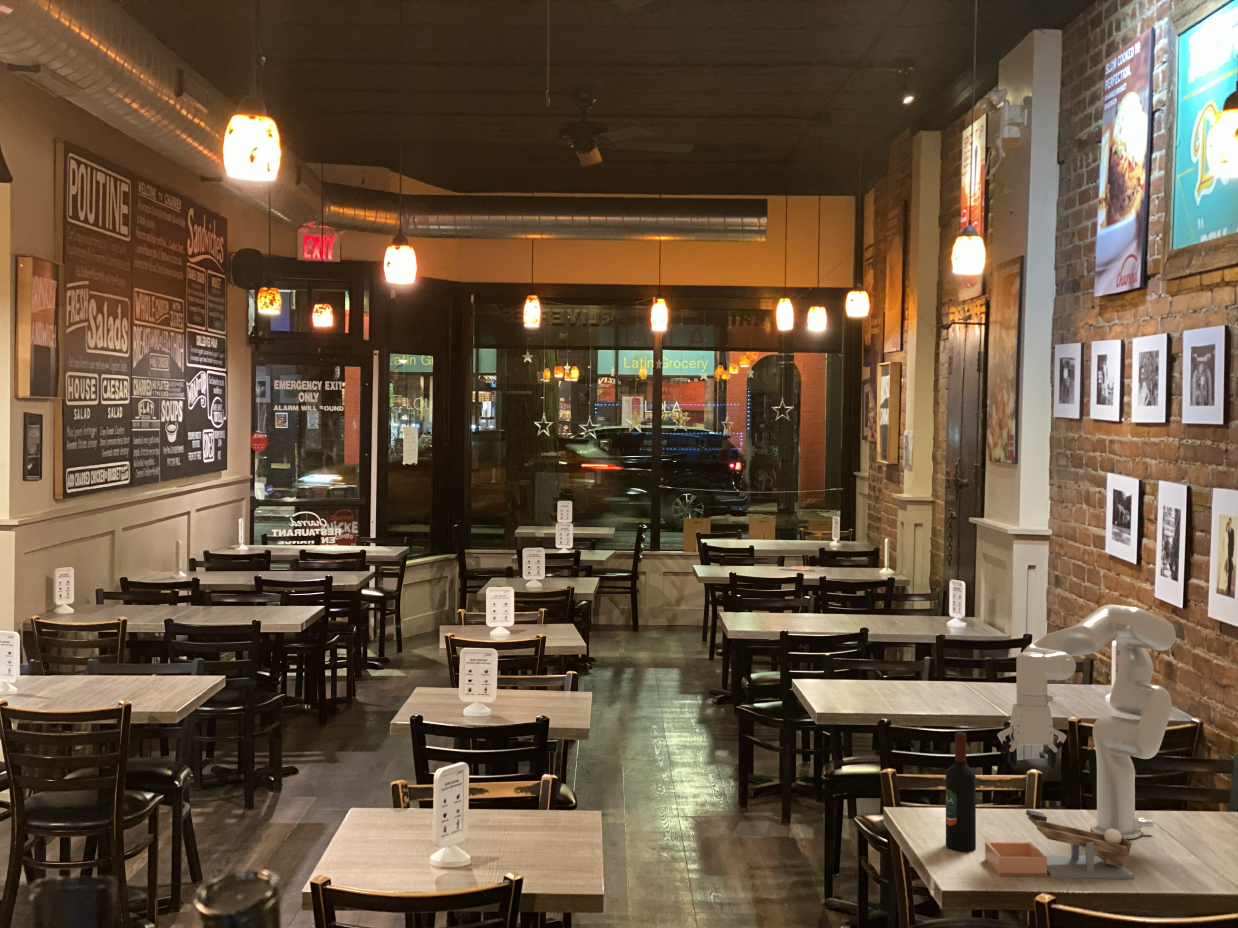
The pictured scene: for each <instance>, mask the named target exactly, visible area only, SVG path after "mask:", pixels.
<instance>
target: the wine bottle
mask: <svg viewBox="0 0 1238 928" xmlns="http://www.w3.org/2000/svg"><path fill="white" fill-rule="evenodd" d="M954 754H955V755H954V764H952V765H950V766H949V767H948V769H946V772H945V847H946V849H948V850H950V851H953V852H958V851H959V852H958V853H971V852H970V851H972V852H974V851H976V849H977V843H976V842H977V841H976V840H977V839H976V838H977V837H976V835H977V831H976V830H977V824H976V823H977V821H976V820H977V818H976V817H977V816H976V815H977V811H976V810H977V805H976V803H977V802H976V801H977V800H976V799H977V798H976V797H977V796H976V795H977V793H976V791H977V790H976V789H977V788H976V787H977V785H976V784H977V783H976V780H977V779H976V778H977V777H976V773H975V772H974V770H973V769H972V768H971V767H970V766H969V765H968V764H967V733H966V732H961V731H956V732H955V733H954ZM973 850H974V851H973Z"/></svg>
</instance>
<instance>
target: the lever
mask: <svg viewBox="0 0 1238 928" xmlns="http://www.w3.org/2000/svg"><path fill="white" fill-rule="evenodd" d="M1025 815H1026V816H1027V817H1028V818H1027V819H1028V820H1029V821H1030V822H1032V824H1033V825H1035V827H1036V830H1037V831H1039V832H1040V834H1042V835H1043V837H1045V839H1047V840H1051V841H1055V842H1060V843H1065V844H1068V845H1071V844H1073V845H1077V846H1079V847H1083V848H1086V842H1093V843H1094V851H1095V850H1097V852H1096V856H1098V857H1099V858H1100V859H1102V860H1103V861H1104V862H1105V863H1107V864H1111V865H1116V866H1120V867H1122V866H1124V860H1125V857H1127V858H1128V857H1129V856H1130V851H1131V846H1132V842H1130V841H1129V839H1125V838H1124V837H1123V836H1122V840H1121V843H1120V844H1118V845H1117V844H1113V843H1108V842H1106V840H1105V838H1104V835H1103V834H1099V833H1095V832H1093V831H1089V830H1084V829H1080V828H1075V827H1071V826H1067V825H1061V824H1059V823H1055V822H1054V823H1052V822H1049V821H1048V817H1047V816H1046V815H1045V814H1044V813H1043V812H1041V811H1036V810H1031V809H1026V812H1025Z"/></svg>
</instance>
